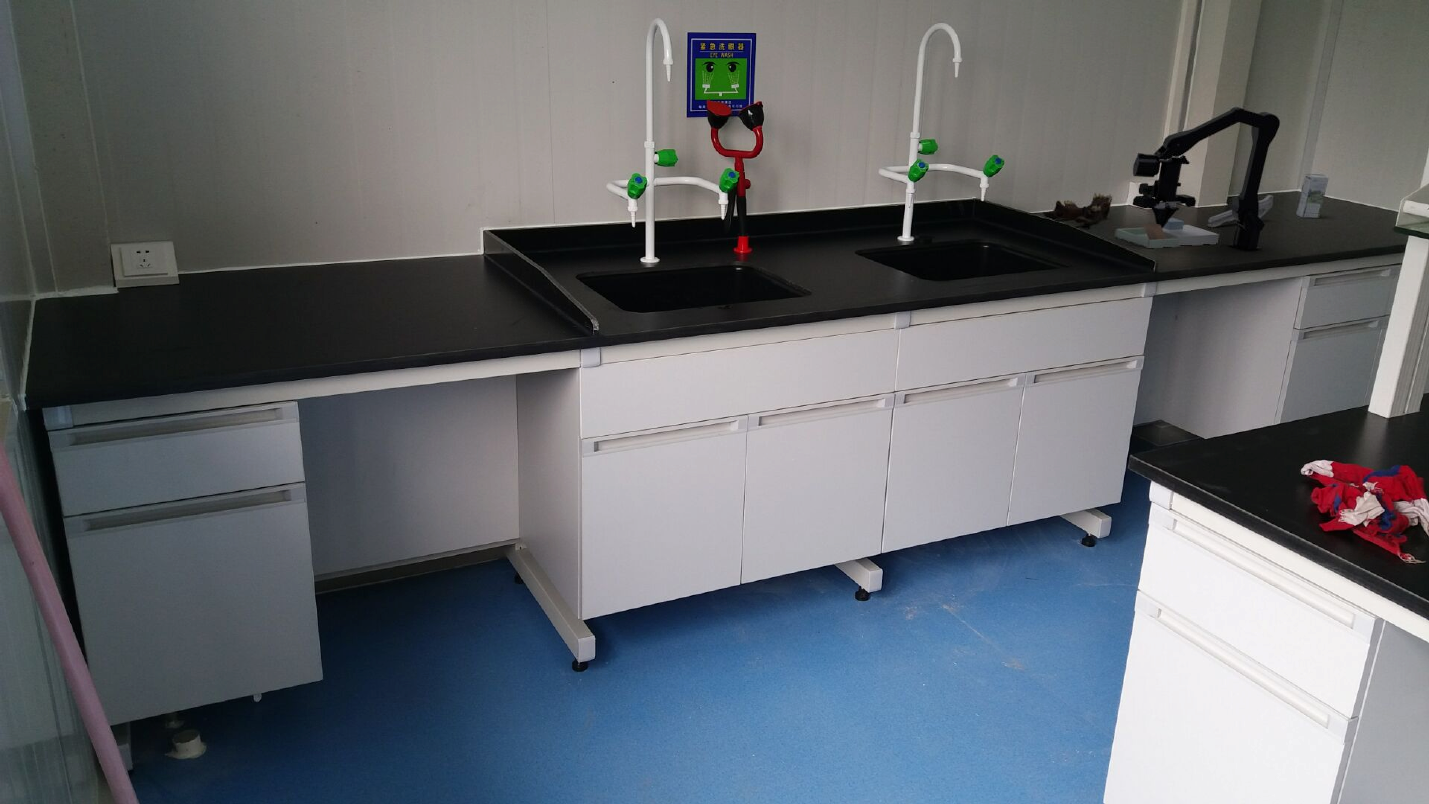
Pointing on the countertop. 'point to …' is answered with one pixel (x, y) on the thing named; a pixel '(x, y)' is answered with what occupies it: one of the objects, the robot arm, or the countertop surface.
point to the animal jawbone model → (1082, 211)
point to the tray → (1144, 238)
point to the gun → (1263, 206)
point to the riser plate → (1191, 236)
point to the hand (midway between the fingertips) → (1159, 229)
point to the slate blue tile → (1174, 224)
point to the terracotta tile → (1154, 231)
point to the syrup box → (1312, 195)
